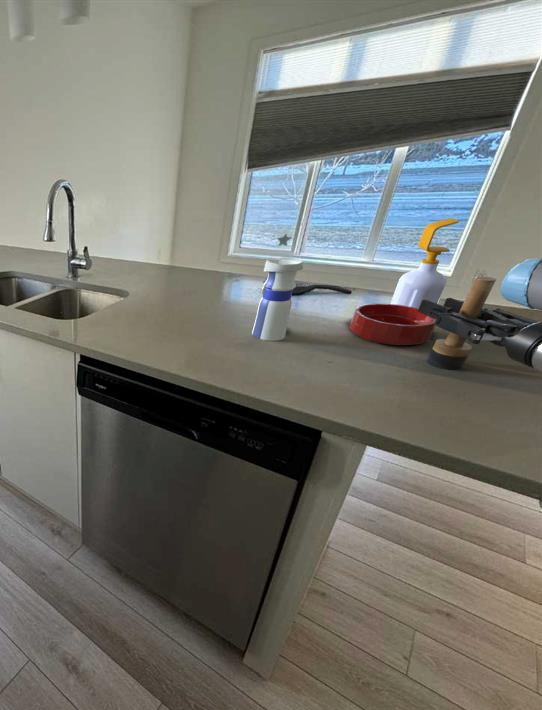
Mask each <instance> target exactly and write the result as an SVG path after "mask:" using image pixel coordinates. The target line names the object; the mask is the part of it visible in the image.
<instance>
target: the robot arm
mask: <svg viewBox="0 0 542 710" xmlns="http://www.w3.org/2000/svg"><path fill="white" fill-rule="evenodd" d="M500 294H501V296H502V298H503V299H505V300H506V301H508V302H511V303H513V304H515V305H516V304H517V305H519V306H523V307H526V308H527V309H528V308H529V309H530V310H538V311H542V258H536V257H535V258H534V257H533V258H529V259H526V260H524V261H523V262H522V263H518V264H516V265H515V266H514V267H512V268H511V270H509V271H508V273H506V275H505V277H504V278H503V280H502V282H501V285H500ZM463 303H464V301H461V300H458V299H456V298H452V297H446V299H445V301H444V304H443V305H442V304H439V303H437V304H436V303H434V302H431V301H428V300H422V302H421V305H420V307H419V309H418V312H420V313H422V314H424V315H427V316H429V317H432V318H434V319H436V321H435V323H434V325H435V327H438V328H440V329H442V330H445V331H446V332H448V333H449V332H451V333H454V334H456V335H458V336H460V337H463V338H465V339H466V341H468V342H469V343H470V344H473V345H479V344H480V342H481V341H486V342H490V343H491V344H493V345H495V346H499V347H502V348H505V351H506V354H507V356H508V358H510V359H511V360H513V361H515V362H517V363H520V364H522V365H524V366H526V367H529V368H532V369H535V370H537V371H539V372H541V373H542V321H537V320H534V319H531V318H528V317H525V316H523V315H519V314H516V313H513V312H510V311H507V310H504V309H501V308H492V310H491V309H489V308H487V307H482V309H481V311H480V313H479V315H478V317H477V319H476V318H472V317H469V316H465V315H462V314H459V312H460V309H461V307H462V305H463Z"/></svg>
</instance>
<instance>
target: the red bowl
mask: <svg viewBox="0 0 542 710" xmlns="http://www.w3.org/2000/svg"><path fill="white" fill-rule="evenodd" d="M435 321H436V319H434V318H432V317H429V316H427V315H424V314H422V313H420V312H418V308H414V307H410V306H404V305H397V304H390V303H384V302H383V303H382V302H381V303H377V302H375V303H365V304H360V305H359V306H357V307H356V308H355V309H354V311H353V314H352V318H351V320H350V324H349V330H350V331H351V332H352V334H355V335H356V336H359V337H361V338H363V339H365V340H368V341H371V342H374V343H378V344H383V345H391V346H411V345H413V346H414V345H421V344H423V343H424V344H425V343H427V342H428V341H429V340H430V339H431V337H432V335H433V332H434V330H435V328H436V326H435V325H434V323H435Z"/></svg>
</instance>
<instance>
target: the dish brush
mask: <svg viewBox="0 0 542 710" xmlns="http://www.w3.org/2000/svg"><path fill="white" fill-rule="evenodd" d="M496 282H497V278H495V277H491V276H475V278H474V280H473V283H472V285H471V286H470V289H469V290H468V293H467V294H466V297H465V299H464V301H463V302H464V303H463V305H462V307H461V309H460V312H459V314H462V315H465V316H469V317H472V318H476V319H477V317H478V315H479V313H480V311H481V309H482V308H484V306H485V303H486V302H487V299H488V297H489V295H490V293H491V291H492V290H493V287H494V286H495V283H496ZM466 341H467V339H465V338H463V337H460V336H458V335H456V334H454V333H451V332H449V331H448V334H447V337H446V338H440V339H436V340H435V341H434V344H433V346H432V348H431V350H430V353H429V355H428V357H427V359H426V362H427V363H428V364H429V365H431V366H432V367H436V368H439V369H443V370H449V371H458V370H461V369H462V368H463V366H464V364H465V363H466V361H467V359H468V357H469V355H470V354H471V351H472V349H473V346H472V345H471V344H469V343H467V342H466Z"/></svg>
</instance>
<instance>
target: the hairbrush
mask: <svg viewBox="0 0 542 710" xmlns="http://www.w3.org/2000/svg"><path fill="white" fill-rule="evenodd" d="M267 278H268V277H266V278H265V280H263V282H262V284H264V283H265V282H266V280H267ZM295 285H296V287H295V288H294V289H293V292H292V296H300V295H304V294H306V293H309V292H312V291H313V290H329V291H333V292H338V293H342V294H347V295H351V294H352V292H353V291H352V290H351V289H348V288H345V287H342V286H339V285H333V284H310V283H309V284H308V283H306V284H303V283H299V284H298V283H295ZM292 296H291V297H292Z"/></svg>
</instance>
